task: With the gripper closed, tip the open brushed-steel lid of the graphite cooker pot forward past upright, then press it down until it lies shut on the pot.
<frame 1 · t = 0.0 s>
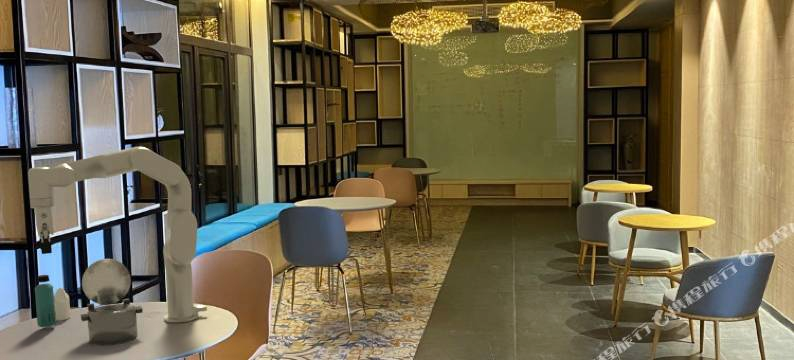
hand: (45, 251, 272), 31 cm above the table, tool pointing down, fingers open, 9 cm apart
cooker lid: (106, 281, 281), point 18 cm above the table, hinge at 100.0°
beverage bottle: (47, 329, 287), on the table
cooker pot: (113, 338, 273), on the table
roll: (62, 318, 300), on the table
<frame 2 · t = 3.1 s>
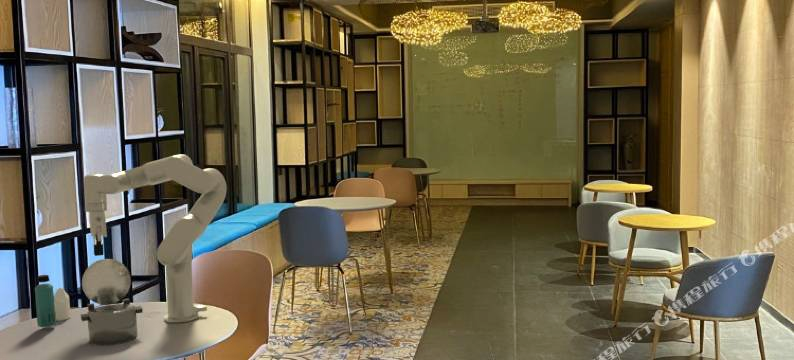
hand: (98, 255, 293), 25 cm above the table, tool pointing down, fingers closed
nothing on the table moved.
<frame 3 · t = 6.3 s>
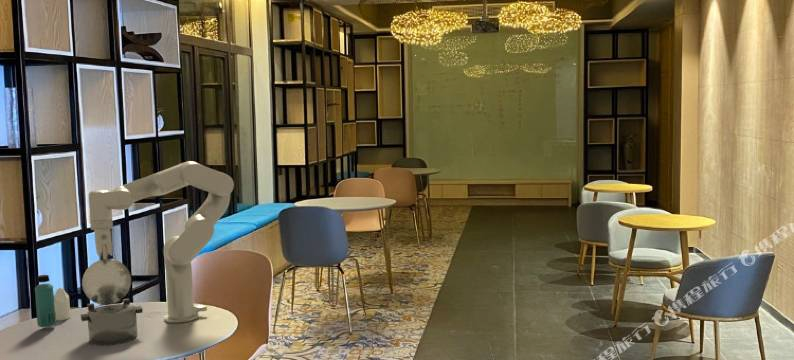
hand: (104, 274, 283), 20 cm above the table, tool pointing down, fingers closed
cooker lid: (106, 281, 280), point 18 cm above the table, hinge at 93.3°
everything else where it was.
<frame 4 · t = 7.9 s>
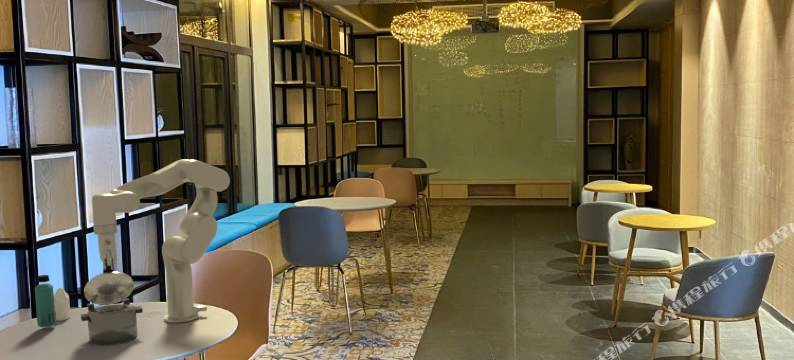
hand: (108, 280, 273), 20 cm above the table, tool pointing down, fingers closed
cooker lid: (108, 285, 275), point 18 cm above the table, hinge at 51.9°, touching gripper
everything else where it was.
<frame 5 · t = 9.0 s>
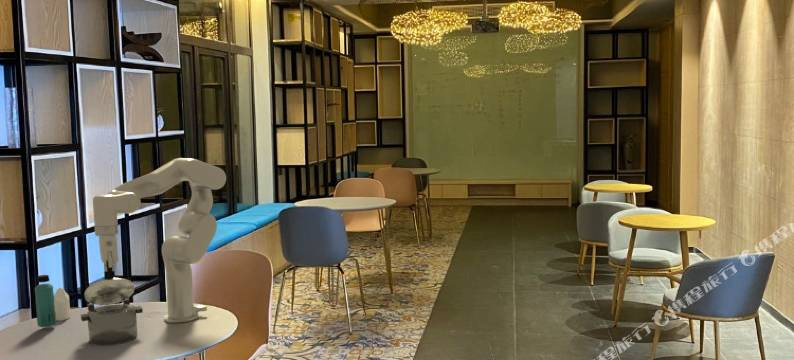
hand: (109, 282, 270), 20 cm above the table, tool pointing down, fingers closed
cooker lid: (109, 288, 274), point 17 cm above the table, hinge at 41.7°
everything else where it was.
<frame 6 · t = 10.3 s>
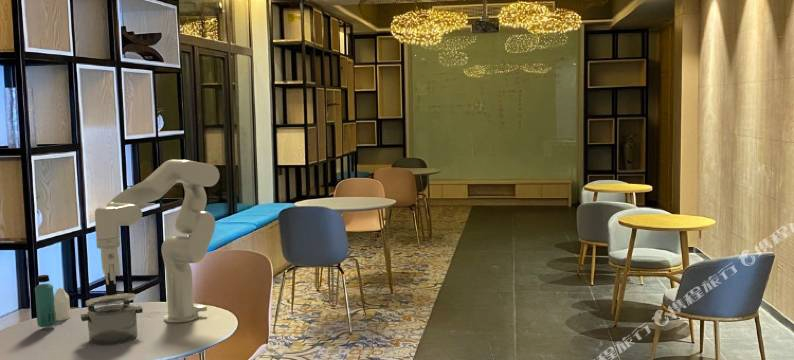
hand: (111, 295, 268), 16 cm above the table, tool pointing down, fingers closed
cooker lid: (110, 296, 272), point 15 cm above the table, hinge at 20.4°, touching gripper
everything else where it was.
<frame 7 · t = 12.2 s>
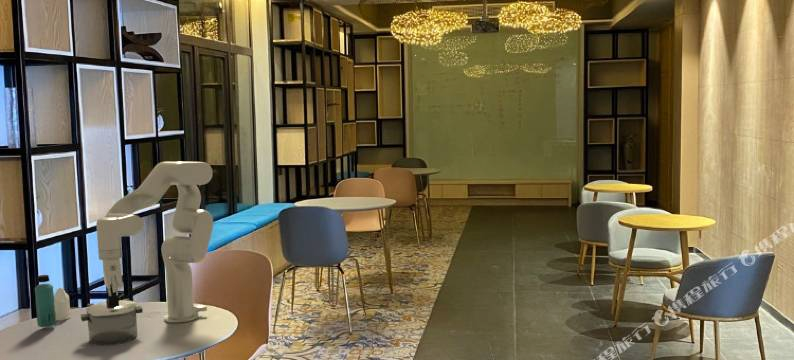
hand: (113, 306, 265), 13 cm above the table, tool pointing down, fingers closed
cooker lid: (111, 304, 272), point 12 cm above the table, hinge at -0.1°
everything else where it was.
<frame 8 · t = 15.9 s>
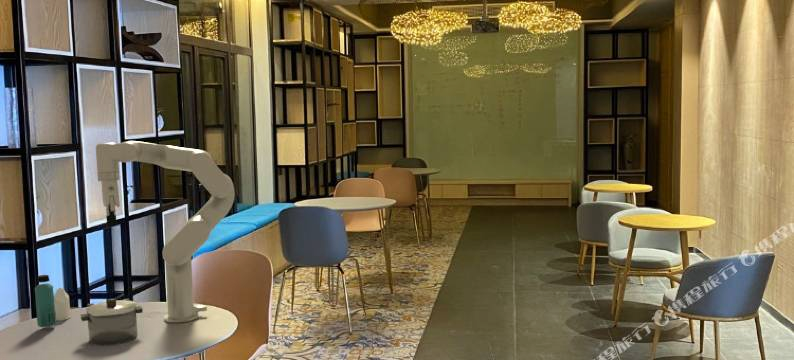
hand: (111, 225, 287), 37 cm above the table, tool pointing down, fingers closed
nothing on the table moved.
at the end: cooker lid at +0° (first picture: +100°) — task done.
